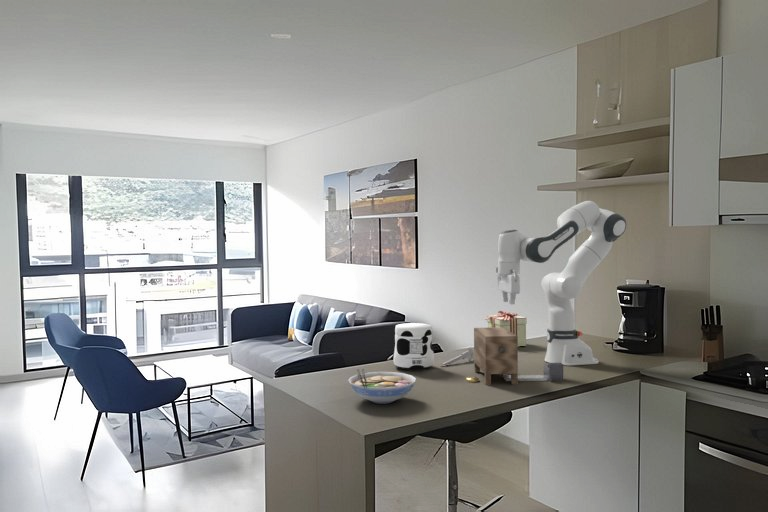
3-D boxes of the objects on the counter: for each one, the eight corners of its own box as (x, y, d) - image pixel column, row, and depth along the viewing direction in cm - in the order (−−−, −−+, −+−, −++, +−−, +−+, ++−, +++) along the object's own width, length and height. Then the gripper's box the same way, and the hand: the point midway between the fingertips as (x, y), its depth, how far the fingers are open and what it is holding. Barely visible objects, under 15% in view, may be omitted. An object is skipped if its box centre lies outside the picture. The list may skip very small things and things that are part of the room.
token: (476, 379, 225) (476, 376, 225) (480, 382, 220) (480, 379, 220) (464, 380, 224) (464, 376, 224) (468, 383, 219) (468, 379, 219)
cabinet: (503, 371, 238) (503, 327, 237) (518, 385, 215) (518, 336, 214) (474, 371, 237) (473, 327, 237) (486, 385, 214) (486, 337, 214)
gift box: (480, 344, 300) (480, 311, 300) (511, 342, 307) (511, 309, 306) (498, 350, 284) (497, 315, 284) (530, 347, 291) (530, 313, 290)
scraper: (559, 376, 228) (559, 361, 228) (565, 382, 219) (565, 366, 219) (502, 376, 229) (502, 361, 228) (506, 382, 220) (506, 366, 219)
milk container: (412, 362, 258) (412, 321, 257) (442, 367, 245) (442, 325, 245) (384, 368, 246) (384, 325, 245) (414, 374, 233) (414, 330, 233)
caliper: (472, 360, 261) (471, 346, 261) (473, 361, 260) (473, 347, 260) (440, 367, 248) (440, 352, 248) (441, 367, 247) (441, 352, 247)
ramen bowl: (421, 410, 183) (421, 384, 183) (349, 413, 182) (348, 386, 181) (411, 390, 208) (411, 367, 208) (347, 392, 206) (347, 369, 206)
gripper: (524, 270, 228) (524, 305, 229) (509, 268, 249) (509, 300, 249) (508, 270, 228) (508, 305, 228) (494, 268, 248) (494, 300, 249)
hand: (508, 303), depth 239 cm, fingers open, 8 cm apart
